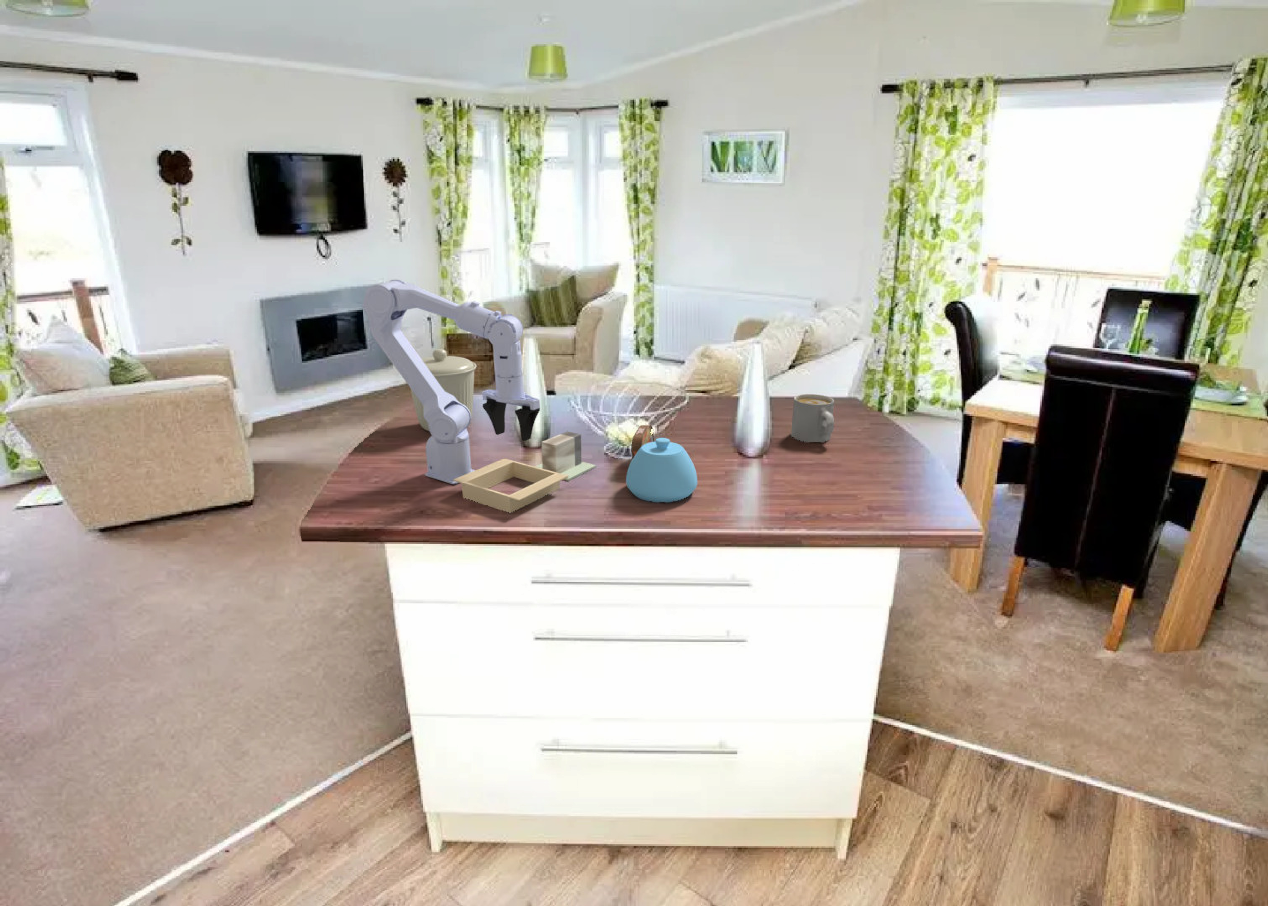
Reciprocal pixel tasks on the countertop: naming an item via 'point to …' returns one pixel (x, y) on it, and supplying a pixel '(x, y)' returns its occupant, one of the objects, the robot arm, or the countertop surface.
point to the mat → (575, 470)
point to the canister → (449, 380)
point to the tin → (641, 438)
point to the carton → (503, 470)
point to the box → (561, 452)
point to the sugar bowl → (661, 472)
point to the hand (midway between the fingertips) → (513, 436)
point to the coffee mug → (812, 418)
